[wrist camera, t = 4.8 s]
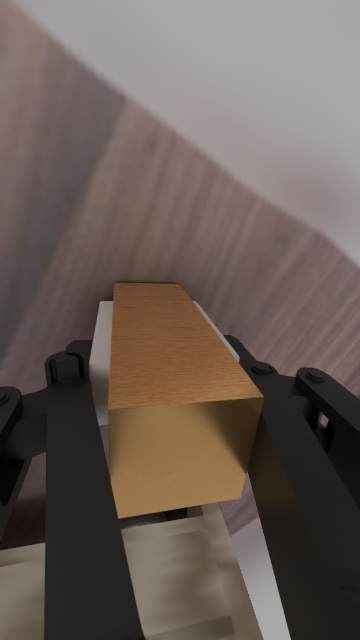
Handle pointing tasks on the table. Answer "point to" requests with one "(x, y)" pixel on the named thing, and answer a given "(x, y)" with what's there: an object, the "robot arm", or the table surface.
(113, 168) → the table surface
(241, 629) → the wooden shelf
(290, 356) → the table surface
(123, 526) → the silver rounded jar
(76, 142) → the table surface
